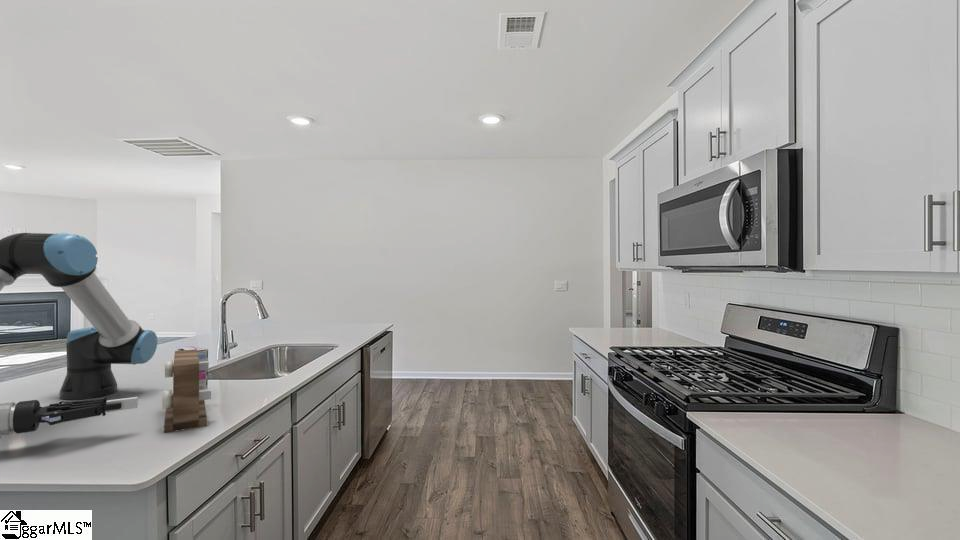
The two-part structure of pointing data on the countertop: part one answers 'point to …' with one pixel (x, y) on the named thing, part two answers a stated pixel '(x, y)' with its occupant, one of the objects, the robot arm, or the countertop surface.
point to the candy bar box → (202, 357)
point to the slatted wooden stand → (185, 394)
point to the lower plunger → (168, 397)
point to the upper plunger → (169, 364)
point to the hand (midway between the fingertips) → (137, 402)
